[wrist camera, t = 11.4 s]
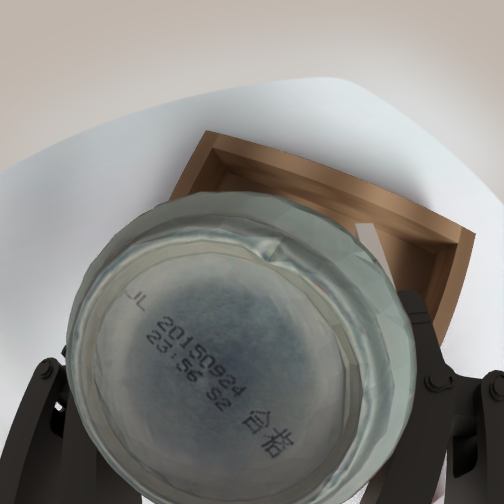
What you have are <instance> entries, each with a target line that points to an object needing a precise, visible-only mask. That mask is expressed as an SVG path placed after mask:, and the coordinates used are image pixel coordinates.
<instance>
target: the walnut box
mask: <svg viewBox="0 0 504 504" xmlns="http://www.w3.org/2000/svg"><path fill="white" fill-rule="evenodd" d="M222 191H252V192H259V193H266V194H271V195H278V196H282V197H285V198H287V199H290V200H292V201H295V202H297V203H300V204H302V205H304V206H307V207H309V208H311V209H313V210H315V211H317V212H319V213H321V214H323V215H325V216H327V217H329V218H331V219H333V220H334V221H336V222H337V223H339V224H340V225H341V226H343V227H344V228H345V229H347V230H348V231H349V232H350V233H351V234H352V235H353V236H354V237H355V224H360V223H373V225H374V228H375V230H376V233H377V235H378V238H379V241H380V244H381V246H382V249H383V252H384V255H385V258H386V261H387V264H388V267H389V270H390V273H391V276H392V279H393V282H394V285H395V288H396V291H404V290H416V291H417V292H418V294H419V295H420V296H421V297H422V298H423V299H424V301H425V304H426V306H427V309H428V314H429V315H430V318H431V323H432V324H433V327H434V330H435V333H436V336H437V339H438V343H439V346H440V347H441V345H442V342H443V340H444V337H445V335H446V332H447V330H448V327H449V324H450V322H451V319H452V316H453V313H454V311H455V308H456V305H457V302H458V299H459V296H460V292H461V289H462V286H463V283H464V279H465V276H466V272H467V268H468V265H469V261H470V257H471V253H472V248H473V244H474V239H475V235H476V234H475V233H473V232H472V231H470V230H468V229H466V228H464V227H462V226H460V225H459V224H457V223H455V222H453V221H451V220H449V219H447V218H445V217H443V216H441V215H439V214H437V213H435V212H433V211H431V210H429V209H427V208H425V207H423V206H421V205H418V204H416V203H414V202H412V201H410V200H408V199H405V198H403V197H401V196H399V195H397V194H394V193H392V192H390V191H387V190H385V189H383V188H380V187H378V186H376V185H373V184H371V183H368V182H366V181H363V180H361V179H358V178H356V177H353V176H351V175H348V174H346V173H343V172H340V171H338V170H335V169H332V168H329V167H327V166H324V165H321V164H318V163H315V162H313V161H310V160H307V159H304V158H301V157H298V156H295V155H292V154H289V153H286V152H282V151H279V150H276V149H273V148H270V147H266V146H263V145H259V144H256V143H253V142H249V141H245V140H242V139H238V138H235V137H231V136H227V135H223V134H219V133H215V132H211V131H207V130H206V131H205V133H204V135H203V136H202V138H201V140H200V142H199V144H198V145H197V147H196V149H195V151H194V153H193V154H192V156H191V158H190V160H189V162H188V164H187V166H186V168H185V170H184V171H183V173H182V175H181V177H180V179H179V181H178V183H177V185H176V187H175V189H174V191H173V193H172V195H171V197H170V199H169V201H171V200H174V199H177V198H181V197H184V196H188V195H191V194H195V193H198V192H222Z"/></svg>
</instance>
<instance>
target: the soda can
mask: <svg viewBox="0 0 504 504" xmlns="http://www.w3.org/2000/svg"><path fill="white" fill-rule="evenodd" d="M65 359H66V373H67V378H68V382H69V386H70V389H71V392H72V394H73V397H74V401H75V404H76V407H77V409H78V412H79V415H80V417H81V420H82V422H83V425H84V427H85V429H86V431H87V433H88V435H89V436H90V438H91V439H92V441H93V442H94V444H95V445H96V447H97V448H98V450H99V451H100V453H101V454H102V456H103V457H104V458H105V460H106V461H107V463H108V464H109V465H110V466H111V467H112V468H113V469H114V471H115V472H116V473H117V474H119V475H120V476H121V477H122V478H123V479H124V480H125V481H126V482H127V483H129V484H130V485H131V486H132V487H133V488H134V489H135V490H136V491H137V492H138V493H140V494H141V495H143V496H144V497H145V498H147V499H149V500H150V501H152V502H153V503H155V504H342V503H344V502H346V501H347V500H349V499H350V498H352V497H353V496H354V495H355V494H356V493H357V492H358V491H359V490H360V489H362V488H363V487H364V486H365V485H366V484H367V483H368V482H369V481H370V480H371V479H372V478H373V477H374V476H375V475H376V473H377V472H378V471H379V470H380V469H381V467H382V466H383V465H384V464H385V463H386V461H387V460H388V459H389V458H390V456H391V455H392V454H393V452H394V450H395V448H396V446H397V444H398V442H399V440H400V438H401V435H402V433H403V431H404V429H405V427H406V425H407V422H408V419H409V417H410V414H411V411H412V407H413V401H414V395H415V386H416V375H417V359H416V348H415V340H414V334H413V330H412V325H411V321H410V318H409V316H408V314H407V312H406V310H405V308H404V306H403V304H402V302H401V300H400V298H399V296H398V294H397V292H396V290H395V288H394V286H393V284H392V282H391V281H390V279H389V277H388V276H387V274H386V272H385V271H384V269H383V268H382V266H381V265H380V263H379V262H378V260H377V259H376V258H375V257H374V256H373V255H372V253H371V252H370V251H369V250H368V249H367V248H366V247H365V246H364V245H363V244H362V243H361V242H360V241H359V240H358V239H356V238H355V237H354V236H353V235H352V234H351V233H350V232H349V231H348V230H347V229H345V228H344V227H343V226H341V225H340V224H339V223H337V222H336V221H334V220H333V219H331V218H329V217H327V216H325V215H323V214H321V213H319V212H317V211H315V210H313V209H311V208H309V207H307V206H304V205H302V204H300V203H297V202H295V201H292V200H290V199H287V198H285V197H282V196H278V195H271V194H266V193H259V192H252V191H222V192H198V193H195V194H191V195H188V196H184V197H181V198H177V199H174V200H171V201H168V202H165V203H162V204H159V205H157V206H156V207H155V208H154V209H152V210H150V211H148V212H146V213H144V214H142V215H140V216H139V217H138V218H136V219H135V220H133V221H132V222H131V223H129V224H128V225H127V226H125V227H124V228H123V229H122V230H121V231H119V232H118V233H117V234H116V235H115V236H114V237H113V238H112V239H111V240H110V242H109V243H108V244H107V245H106V247H105V248H104V249H103V250H102V252H101V253H100V254H99V255H98V257H97V258H96V259H95V260H94V261H93V262H92V263H91V264H90V266H89V268H88V270H87V272H86V273H85V275H84V278H83V281H82V284H81V286H80V288H79V290H78V292H77V294H76V296H75V299H74V302H73V306H72V310H71V314H70V318H69V323H68V329H67V336H66V357H65Z"/></svg>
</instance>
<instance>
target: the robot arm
mask: <svg viewBox="0 0 504 504" xmlns="http://www.w3.org/2000/svg"><path fill="white" fill-rule="evenodd" d="M355 238H356V239H358V240H359V241H360V242H361V243H362V244H363V245H364V246H365V247H366V248H367V249H368V250H369V251H370V252H371V253H372V255H373V256H374V257H375V258H376V259H377V260H378V262H379V263H380V265H381V266H382V268H383V269H384V271H385V272H386V274H387V276H388V277H389V279H390V281H391V282H392V284H393V286H394V288H395V285H394V282H393V279H392V276H391V273H390V270H389V267H388V264H387V261H386V258H385V255H384V252H383V249H382V246H381V244H380V241H379V238H378V235H377V233H376V230H375V228H374V225H373V223H360V224H355ZM395 290H396V288H395ZM396 292H397V294H398V296H399V298H400V300H401V302H402V304H403V306H404V308H405V310H406V312H407V314H408V316H409V318H410V321H411V325H412V330H413V334H414V340H415V348H416V359H417V375H416V386H415V395H414V401H413V407H412V411H411V414H410V417H409V419H408V422H407V425H406V427H405V429H404V431H403V433H402V435H401V438H400V440H399V442H398V444H397V446H396V448H395V450H394V452H393V454H392V455H391V456H390V458H389V459H388V460H387V461H386V463H385V464H384V465H383V466H382V467H381V469H380V470H379V471H378V472H377V473H376V475H375V476H374V477H373V478H372V479H371V480H370V481H369V484H368V486H367V488H366V490H365V493H364V495H363V497H362V499H361V501H360V504H431V502H432V499H433V496H434V493H435V490H436V487H437V484H438V480H439V477H440V474H441V470H442V466H443V463H444V459H445V455H446V450H447V470H446V488H445V499H444V504H504V372H503V371H499V370H494V371H491V372H489V373H488V374H487V375H486V376H485V377H484V378H483V379H478V378H471V377H464V376H460V375H458V374H456V373H455V372H454V370H453V369H452V368H451V367H449V366H448V365H447V364H446V363H445V361H444V359H443V356H442V353H441V349H440V346H439V343H438V339H437V336H436V333H435V330H434V327H433V324H432V323H431V318H430V315H429V314H428V309H427V306H426V304H425V301H424V299H423V298H422V297H421V296H420V295H419V294H418V292H417V291H416V290H404V291H396ZM61 354H62V355H63V356H64V357H66V345H65V347H64V348H63V350H62V352H61ZM56 402H58V403H59V404H60V405H61V406H62V409H61V410H59V411H58V410H57V409H56V408H55V404H56ZM0 504H142V497H141V494H140V493H138V492H137V491H136V490H135V489H134V488H133V487H132V486H131V485H130V484H129V483H127V482H126V481H125V480H124V479H123V478H122V477H121V476H120V475H119V474H117V473H116V472H115V471H114V469H113V468H112V467H111V466H110V465H109V464H108V463H107V461H106V460H105V458H104V457H103V456H102V454H101V453H100V451H99V450H98V448H97V447H96V445H95V444H94V442H93V441H92V439H91V438H90V436H89V435H88V433H87V431H86V429H85V427H84V425H83V422H82V420H81V417H80V415H79V412H78V409H77V407H76V404H75V401H74V397H73V394H72V392H71V389H70V386H69V382H68V378H67V373H66V365H63V366H62V365H61V364H60V363H59V362H58V361H57V360H56V359H55V358H47V359H44V360H43V361H42V362H41V363H39V365H38V366H37V368H36V369H35V371H34V374H33V376H32V378H31V380H30V382H29V384H28V387H27V389H26V391H25V393H24V396H23V398H22V401H21V403H20V405H19V408H18V410H17V413H16V415H15V418H14V420H13V423H12V426H11V429H10V431H9V434H8V437H7V440H6V443H5V446H4V449H3V452H2V455H1V458H0Z"/></svg>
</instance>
